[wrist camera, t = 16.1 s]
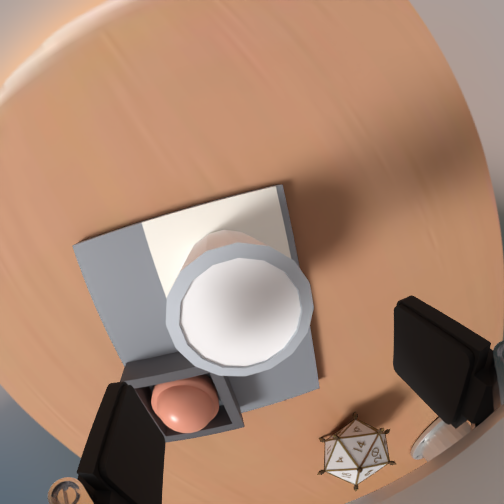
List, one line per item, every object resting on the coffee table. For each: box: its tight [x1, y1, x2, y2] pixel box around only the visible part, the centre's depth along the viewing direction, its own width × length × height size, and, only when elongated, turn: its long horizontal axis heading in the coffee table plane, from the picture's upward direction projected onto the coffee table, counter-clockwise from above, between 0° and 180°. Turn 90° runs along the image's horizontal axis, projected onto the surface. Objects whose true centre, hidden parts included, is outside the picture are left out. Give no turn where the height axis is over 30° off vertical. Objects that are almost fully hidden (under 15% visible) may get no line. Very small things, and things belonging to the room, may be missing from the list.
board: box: [73, 184, 319, 442], centre depth 20 cm, size 18×15×4 cm
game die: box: [317, 412, 396, 491], centre depth 24 cm, size 9×8×10 cm
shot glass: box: [166, 230, 314, 376], centre depth 16 cm, size 7×7×7 cm
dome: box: [151, 374, 219, 433], centre depth 19 cm, size 5×5×4 cm
